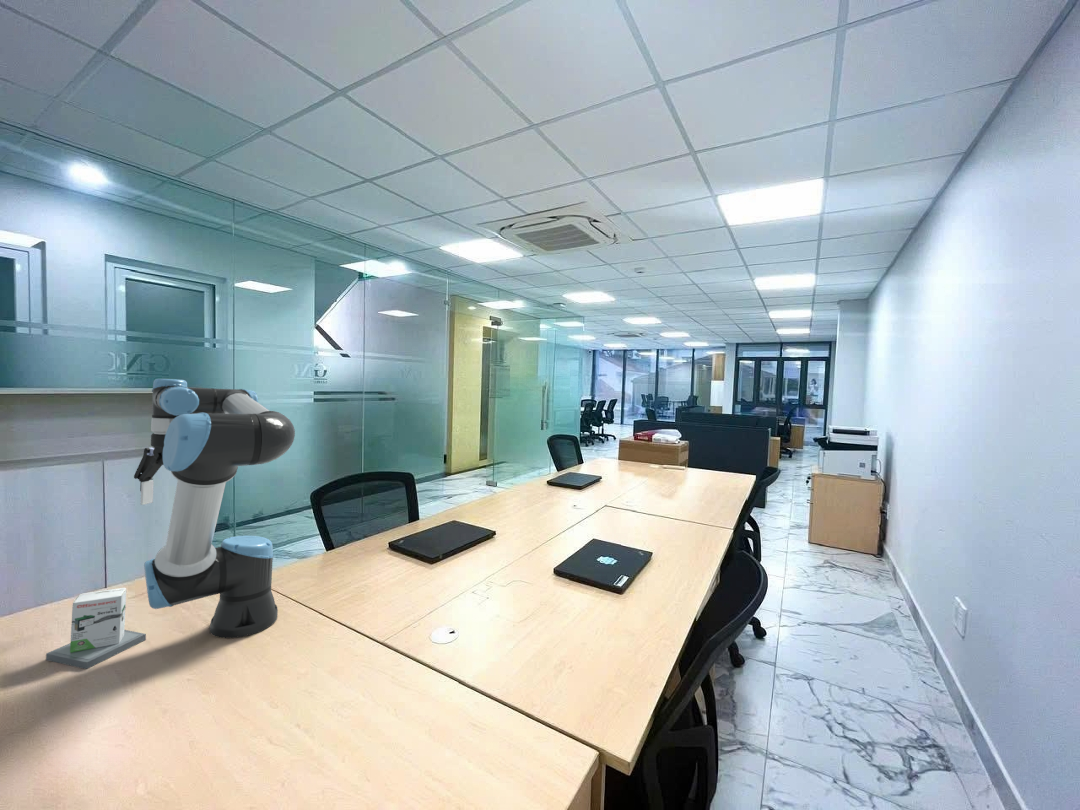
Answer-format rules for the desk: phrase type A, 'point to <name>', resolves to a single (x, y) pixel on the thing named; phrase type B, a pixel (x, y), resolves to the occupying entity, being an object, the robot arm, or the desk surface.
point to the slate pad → (94, 651)
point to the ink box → (98, 619)
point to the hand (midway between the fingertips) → (165, 506)
